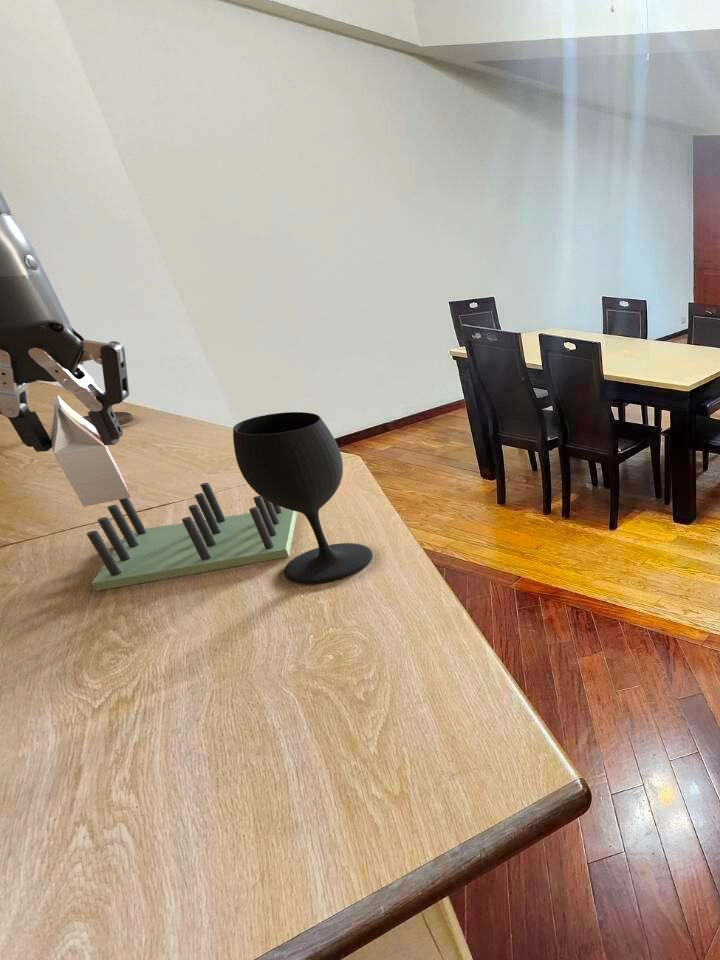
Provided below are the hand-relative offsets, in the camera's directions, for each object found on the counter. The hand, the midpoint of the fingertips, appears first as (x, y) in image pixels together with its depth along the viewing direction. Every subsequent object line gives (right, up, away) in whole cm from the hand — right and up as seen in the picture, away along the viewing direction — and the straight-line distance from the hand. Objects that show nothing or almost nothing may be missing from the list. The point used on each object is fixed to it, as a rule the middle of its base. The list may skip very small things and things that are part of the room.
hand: (79, 445), depth 62 cm
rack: (-5, -11, +21) cm, 24 cm away
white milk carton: (0, -5, +3) cm, 6 cm away
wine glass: (+14, -13, +19) cm, 27 cm away
